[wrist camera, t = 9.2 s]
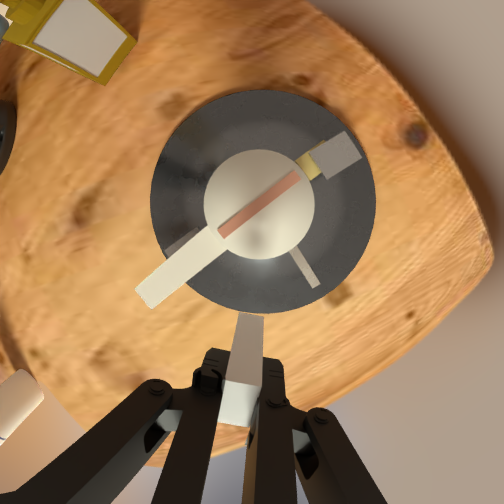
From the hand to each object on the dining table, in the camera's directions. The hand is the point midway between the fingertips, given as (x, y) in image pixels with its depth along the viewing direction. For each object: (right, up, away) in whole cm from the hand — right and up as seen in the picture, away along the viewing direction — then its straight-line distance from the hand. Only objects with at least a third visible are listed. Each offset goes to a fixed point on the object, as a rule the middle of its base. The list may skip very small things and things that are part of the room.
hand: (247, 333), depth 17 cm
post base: (+1, +10, +12) cm, 16 cm away
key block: (0, +9, +11) cm, 14 cm away
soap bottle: (-18, +33, +8) cm, 39 cm away
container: (-48, -24, +22) cm, 58 cm away
